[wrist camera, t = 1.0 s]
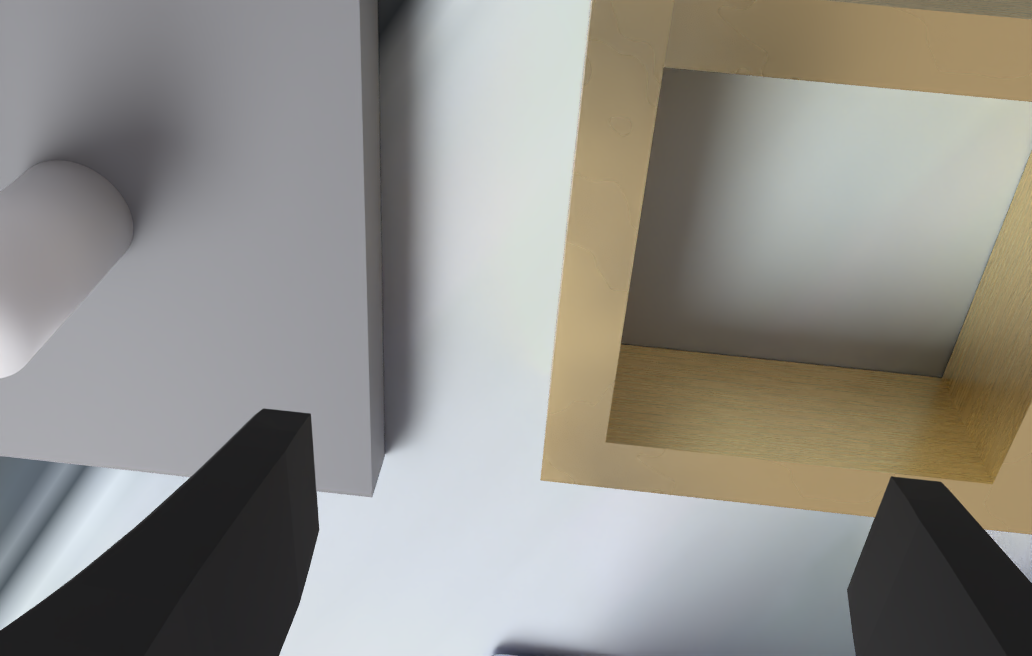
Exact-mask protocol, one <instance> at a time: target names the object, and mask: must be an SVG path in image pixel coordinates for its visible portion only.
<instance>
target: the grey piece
mask: <svg viewBox="0 0 1032 656" xmlns="http://www.w3.org/2000/svg"><path fill="white" fill-rule="evenodd" d="M263 408H265V409H274V410H283V411H292V412H302V413H311V422H312V436H313V450H314V464H315V478H316V491H320V492H329V493H338V494H347V495H356V496H365V497H372V496H373V493H374V490H375V486H376V483H377V480H378V477H379V473H380V470H381V467H382V463H383V460H384V457H385V444H384V378H383V312H382V246H381V180H380V114H379V48H378V0H0V456H6V457H15V458H24V459H33V460H42V461H51V462H60V463H69V464H78V465H87V466H96V467H105V468H114V469H123V470H132V471H141V472H150V473H159V474H168V475H177V476H186V477H191V476H192V475H193V474H194V473H195V472H196V471H198V470H199V469H200V468H201V467H202V466H203V465H204V464H205V463H206V462H207V461H208V460H209V459H210V458H211V457H212V456H213V455H214V454H215V453H216V452H217V451H218V450H219V449H220V448H221V447H222V446H224V445H225V444H226V443H227V442H228V441H229V440H230V439H231V438H232V437H233V436H234V435H235V434H236V433H237V432H238V431H239V430H240V429H241V428H242V427H243V426H244V425H245V424H246V423H247V422H248V421H249V420H250V419H251V418H252V417H253V416H254V415H255V414H257V413H258V412H259V411H260V410H262V409H263Z"/></svg>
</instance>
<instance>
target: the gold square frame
mask: <svg viewBox="0 0 1032 656" xmlns="http://www.w3.org/2000/svg"><path fill="white" fill-rule="evenodd" d="M664 67H666V68H677V69H687V70H698V71H709V72H720V73H730V74H741V75H752V76H762V77H773V78H784V79H794V80H805V81H816V82H826V83H837V84H848V85H858V86H869V87H880V88H890V89H901V90H912V91H922V92H933V93H944V94H954V95H965V96H976V97H987V98H997V99H1008V100H1019V101H1029V102H1032V0H591V6H590V16H589V25H588V34H587V44H586V53H585V62H584V72H583V81H582V90H581V99H580V109H579V118H578V127H577V137H576V146H575V155H574V164H573V174H572V183H571V192H570V202H569V211H568V220H567V230H566V239H565V248H564V257H563V267H562V276H561V285H560V295H559V304H558V313H557V322H556V332H555V341H554V350H553V360H552V369H551V378H550V388H549V399H548V409H547V419H546V429H545V439H544V450H543V460H542V470H541V480H542V481H551V482H560V483H569V484H578V485H587V486H596V487H605V488H614V489H624V490H633V491H642V492H651V493H660V494H669V495H678V496H687V497H696V498H705V499H714V500H723V501H732V502H741V503H751V504H760V505H769V506H778V507H787V508H796V509H805V510H814V511H823V512H832V513H841V514H850V515H859V516H868V517H875V516H876V514H877V511H878V508H879V506H880V503H881V501H882V498H883V495H884V493H885V490H886V488H887V485H888V483H889V480H890V477H891V476H893V477H902V478H911V479H920V480H930V481H939V482H942V483H943V484H944V485H945V486H946V487H947V488H948V489H949V490H950V492H951V493H952V494H953V495H954V496H955V497H956V498H957V499H958V500H959V502H960V503H961V504H962V505H963V506H964V507H965V508H966V509H967V511H968V512H969V513H970V514H971V515H972V516H973V517H974V518H975V520H976V521H977V522H978V523H979V524H980V525H981V526H982V528H983V529H986V530H995V531H1005V532H1014V533H1023V534H1032V152H1031V154H1030V157H1029V159H1028V162H1027V164H1026V167H1025V169H1024V172H1023V175H1022V177H1021V180H1020V182H1019V185H1018V187H1017V190H1016V192H1015V195H1014V197H1013V200H1012V202H1011V205H1010V207H1009V210H1008V212H1007V215H1006V218H1005V220H1004V223H1003V225H1002V228H1001V230H1000V233H999V235H998V238H997V240H996V243H995V245H994V248H993V250H992V253H991V255H990V258H989V261H988V263H987V266H986V268H985V271H984V273H983V276H982V278H981V281H980V283H979V286H978V288H977V291H976V293H975V296H974V298H973V301H972V304H971V306H970V309H969V311H968V314H967V316H966V319H965V321H964V324H963V326H962V329H961V331H960V334H959V336H958V339H957V341H956V344H955V346H954V349H953V352H952V354H951V357H950V359H949V362H948V364H947V367H946V369H945V372H944V374H943V377H942V378H938V377H928V376H919V375H909V374H900V373H890V372H881V371H871V370H862V369H852V368H842V367H833V366H823V365H814V364H804V363H795V362H785V361H775V360H766V359H756V358H747V357H737V356H728V355H718V354H709V353H699V352H689V351H680V350H670V349H661V348H651V347H642V346H632V345H622V344H621V339H622V332H623V326H624V320H625V313H626V307H627V300H628V294H629V287H630V281H631V274H632V268H633V262H634V255H635V249H636V242H637V236H638V229H639V223H640V217H641V210H642V204H643V197H644V191H645V184H646V178H647V171H648V165H649V159H650V152H651V146H652V139H653V133H654V126H655V120H656V113H657V107H658V101H659V94H660V88H661V81H662V75H663V68H664Z"/></svg>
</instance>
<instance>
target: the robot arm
mask: <svg viewBox="0 0 1032 656" xmlns="http://www.w3.org/2000/svg"><path fill="white" fill-rule="evenodd" d="M318 532H319V521H318V507H317V493H316V478H315V464H314V450H313V436H312V422H311V413H302V412H292V411H283V410H274V409H265V408H263V409H262V410H260V411H259V412H258V413H257V414H255V415H254V416H253V417H252V418H251V419H250V420H249V421H248V422H247V423H246V424H245V425H244V426H243V427H242V428H241V429H240V430H239V431H238V432H237V433H236V434H235V435H234V436H233V437H232V438H231V439H230V440H229V441H228V442H227V443H226V444H225V445H224V446H222V447H221V448H220V449H219V450H218V451H217V452H216V453H215V454H214V455H213V456H212V457H211V458H210V459H209V460H208V461H207V462H206V463H205V464H204V465H203V466H202V467H201V468H200V469H199V470H198V471H196V472H195V473H194V474H193V475H192V476H191V477H190V478H189V479H188V480H187V481H186V482H185V483H184V484H183V485H182V486H180V487H179V488H178V489H177V490H176V491H175V492H174V493H173V494H172V495H170V496H169V497H168V498H167V499H166V500H165V501H164V502H163V503H162V504H161V505H159V506H158V507H157V508H156V509H155V510H154V511H153V512H152V513H151V514H150V515H148V516H147V517H146V518H145V519H144V520H143V521H142V522H140V523H139V524H138V525H137V526H136V527H135V528H134V529H132V530H131V531H130V532H129V533H128V534H126V535H125V536H124V537H123V538H121V539H120V540H119V541H118V542H117V543H115V544H114V545H113V546H112V547H111V548H109V549H108V550H107V551H106V552H104V553H103V554H102V555H101V556H100V557H98V558H97V559H96V560H95V561H94V562H92V563H91V564H90V565H89V566H87V567H86V568H85V569H84V570H83V571H81V572H80V573H79V574H77V575H76V576H75V577H74V578H72V579H71V580H70V581H68V582H67V583H66V584H64V585H63V586H62V587H60V588H59V589H58V590H56V591H55V592H54V593H52V594H51V595H50V596H48V597H47V598H46V599H44V600H43V601H42V602H40V603H39V604H37V605H36V606H35V607H33V608H32V609H30V610H29V611H28V612H26V613H25V614H23V615H22V616H20V617H19V618H18V619H16V620H15V621H13V622H12V623H11V624H9V625H8V626H6V627H5V628H3V629H2V630H0V656H279V654H280V651H281V649H282V646H283V644H284V641H285V639H286V636H287V634H288V631H289V629H290V626H291V624H292V621H293V619H294V616H295V614H296V611H297V608H298V606H299V603H300V600H301V596H302V593H303V589H304V585H305V582H306V578H307V575H308V571H309V567H310V563H311V560H312V556H313V552H314V548H315V544H316V540H317V536H318ZM847 592H848V600H849V608H850V616H851V625H852V633H853V639H854V646H855V653H856V656H1032V583H1031V582H1030V581H1029V580H1028V579H1027V577H1026V576H1025V575H1024V574H1023V573H1022V572H1021V571H1020V570H1019V569H1018V567H1017V566H1016V565H1015V564H1014V563H1013V562H1012V561H1011V559H1010V558H1009V557H1008V556H1007V555H1006V554H1005V553H1004V552H1003V550H1002V549H1001V548H1000V547H999V546H998V545H997V544H996V542H995V541H994V540H993V539H992V538H991V537H990V536H989V534H988V533H987V532H986V531H985V530H984V529H983V528H982V526H981V525H980V524H979V523H978V522H977V521H976V520H975V518H974V517H973V516H972V515H971V514H970V513H969V512H968V511H967V509H966V508H965V507H964V506H963V505H962V504H961V503H960V502H959V500H958V499H957V498H956V497H955V496H954V495H953V494H952V493H951V492H950V490H949V489H948V488H947V487H946V486H945V485H944V484H943V483H942V482H939V481H930V480H920V479H911V478H902V477H893V476H891V477H890V480H889V483H888V485H887V488H886V490H885V493H884V495H883V498H882V501H881V503H880V506H879V508H878V511H877V514H876V516H875V519H874V521H873V524H872V527H871V529H870V532H869V534H868V537H867V540H866V542H865V545H864V547H863V550H862V552H861V555H860V558H859V560H858V563H857V565H856V568H855V571H854V573H853V576H852V578H851V581H850V584H849V586H848V589H847ZM493 656H516V655H507V654H497V655H493Z"/></svg>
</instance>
